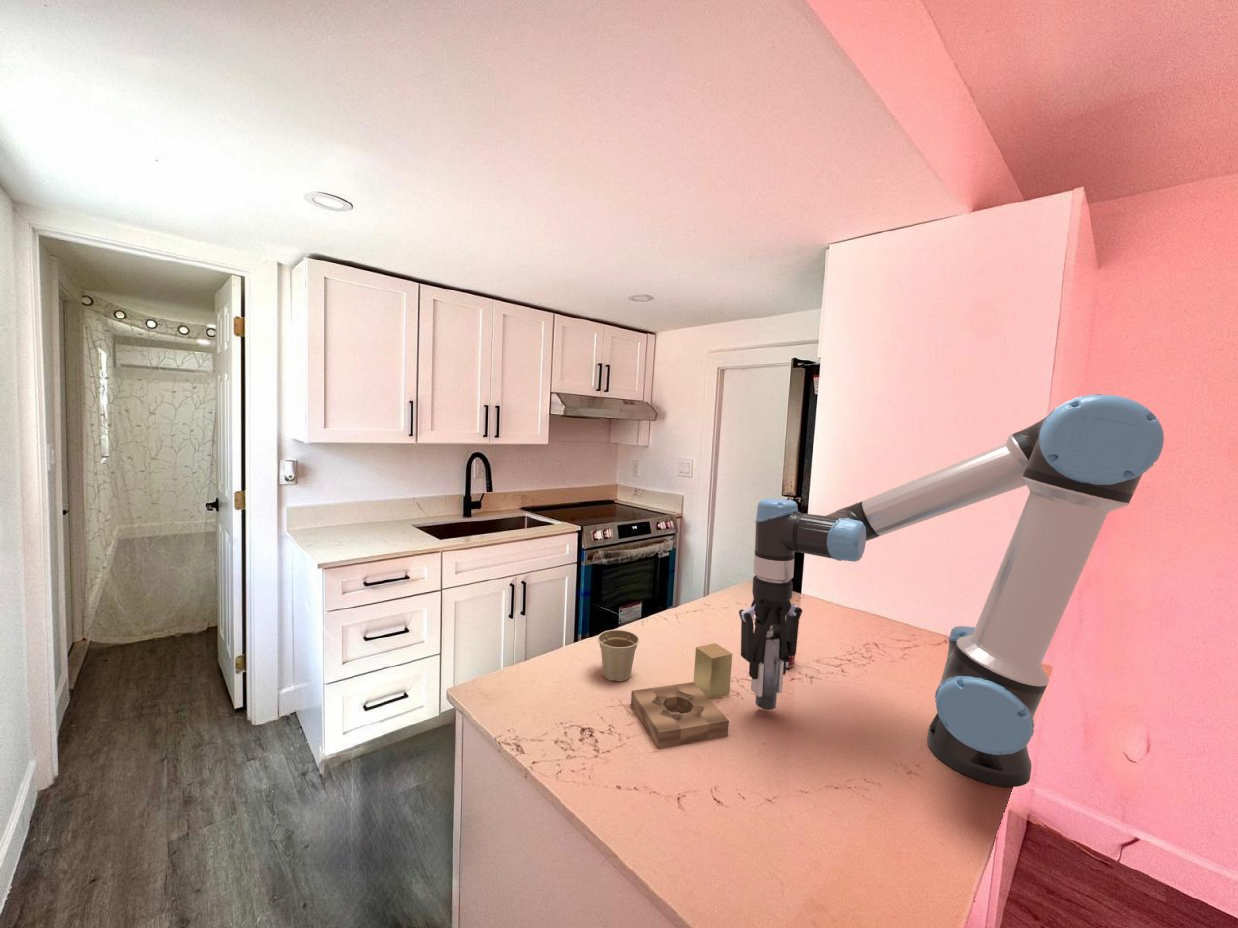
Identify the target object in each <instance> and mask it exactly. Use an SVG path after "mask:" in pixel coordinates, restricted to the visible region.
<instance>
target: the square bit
mask: <svg viewBox="0 0 1238 928" xmlns="http://www.w3.org/2000/svg"><path fill="white" fill-rule="evenodd" d="M694 654H695V656H694V671H693V682H694V683H695V684H696V685H697V686H698V687H699V689H700V690H701V691H702V692H703V693H704V694H705V695H706V696H707V697H708V698H709V699H710V700H712V699H713V700H714V699H716V698H720V697H723V696H727V695H729V694H730V690H731V677H732V665H733V664H732V662H733V653H732V652H730V651H729V650H727V649H726V648H725V647H723V646H721V645H719V644H718V643H716V642H714V643H710V644H706V645H705V644H704V645H701V646H697V647H695V653H694Z"/></svg>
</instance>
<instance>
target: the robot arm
mask: <svg viewBox="0 0 1238 928" xmlns="http://www.w3.org/2000/svg"><path fill="white" fill-rule="evenodd" d="M1164 435H1165V434H1164V429H1163V426H1162V425H1161V422H1160V420H1159V419H1158V418H1157V416H1156V415H1155V414H1154V413H1153V412H1152V411H1151V410H1150V409H1149V408H1148V407H1146V406H1145V405H1143V404H1141V403H1139V402H1138V401H1135V400H1132V399H1130V398H1128V397H1124V396H1119V395H1115V394H1100V393H1097V394H1096V393H1095V394H1087V395H1080V396H1077V397H1074V398H1072V399H1070V400H1067V401H1065V402H1063V403H1062V404H1060V405H1058V406H1057V407H1055V408H1054V409H1053V410H1052V411H1051V412H1050V413H1049V414H1048V415H1047V416H1046V417H1044V418H1042V419H1040V420H1039V421H1038V422H1036V423H1033V424H1032V425H1029V426H1028V427H1026V428H1023V429H1021V430H1020V431H1017V432H1015V433H1012V434H1009V436H1008V438H1007V440H1006V442H1005V443H1003V444H1000V445H998V446H996V447H994V448H991V449H989V450H986V451H984V452H981V453H979V454H975V455H974V456H971V457H968V458H966V459H964V460H961V461H959V462H955V463H954V464H951V465H948V466H946V467H944V468H941V469H938V470H937V471H933V472H931V473H929V474H925V475H923V476H921V477H918V478H916V479H914V480H913V479H912V480H911V481H909V482H907V483H903V484H901V485H898V486H896V487H894V488H892V489H891V488H890V489H889V490H886V491H884V492H882V493H879V494H877V495H873V496H871V497H869V498H866V499H864V500H861V501H860V502H856V503H854V504H851V505H849V506H846V507H843V508H840V509H838V510H836V511H834V512H832V513H829V514H827V515H822V514H821V515H820V514H811V513H805V512H804V513H803V512H800V511H799V509H798V503H797V502H796V501H794V500H789V499H785V498H762V499H761V500H760V501H759V502H758V504H757V509H756V519H755V520H754V523H755V538H754V539H755V542H754V557H753V559H754V560H753V574H754V576H753V577H752V596H753V599H752V602H751V604H750V607H748V608H747V609H742V608H741V609H739V611H738V614H739V615H738V616H739V618H740V621H741V623H740V626H741V627H740V656H741V657H742V658H743V659H744V661H746V662H748V663H749V666H748V667H749V668H748V669H749V670H748V676H749V677H750V678H751V680H750V681H751V684H750V690H751V692H753V693H754V694H755V696H756V695H757V696H758V697H762V690H763V673H764V664H763V663H761V658H762V653H763V649H764V645H765V640H766V636H767V632H768V631H769V630H770V626H771V625H772V626H773V633H774V634H776V635H777V636H779V637H780V648H779V665H778V682H777V694H783V683H784V682H783V680H784V676H785V675H786V672H787V668H786V662H790V660H791V658H789V657H790V656H795V657H796V654H797V647H798V646H797V644H798V643H797V642H798V634H799V624H800V619H801V616H802V613H803V609H802V608H801V607H799V606H798V605H795V604H794V603H791V600H792V597H793V584H794V583H793V581H792V579H793V578H794V573H795V572H794V570H795V553H802V554H806V555H813V556H817V557H822V558H828V559H832V560H836V561H838V562H839V561H841V562H842V561H844V562H846V561H847V562H853V563H854V562H859V561H860V560H861V559H862V558H863V554H864V553H865V549H866V543H867V542H868V541H870V540H875V539H877V538H879V537H882V536H884V535H887V534H890V533H894V532H896V531H899V530H901V529H904V528H907V527H910V526H912V525H916V524H918V523H921V522H925V521H928V520H930V519H933V518H936V517H939V516H942V515H945V514H947V513H950V512H953V511H955V510H959V509H961V508H965V507H968V506H970V505H973V504H976V503H979V502H982V501H984V500H987V499H990V498H993V497H996V496H999V495H1002V494H1005V493H1007V492H1011V491H1014V490H1016V489H1019V488H1023V487H1024V486H1026V487H1027V488H1028V490H1029V494H1028V496H1027V500H1026V502H1025V505H1024V506H1023V509H1022V511H1021V514H1020V517H1019V518H1018V521H1017V524H1016V526H1015V529H1014V532H1013V533H1012V536H1011V539H1010V541H1009V544H1008V546H1007V549H1006V550H1005V553H1004V556H1003V558H1002V561H1001V563H1000V566H999V569H998V571H997V572H996V576H995V579H994V581H993V583H992V586H991V588H990V590H989V593H988V595H987V598H986V601H985V603H984V605H983V608H982V610H981V612H980V616H979V617H978V620H977V623H976V625H975V626H965V625H959V626H954V627H953V628H951V630H950V634H949V637H948V649H947V650H948V651H947V656H946V662H945V665H944V668H943V672H942V676H941V678H940V679H941V680H940V683H939V685H938V686H937V689H936V690H935V695H934V698H935V700H934V701H935V708H936V713H935V716H934V718H933V720H932V721H931V723H930V724H929V725H928V728H927V729H928V730H927V737H926V742H927V746H928V748H929V749H930V751H931V753H933V754H934V755H935V757H936V758H938V760H940V761H942V762H943V763H944V764H945V765H947V766H948V767H950V768H952V769H953V770H955V771H957V772H959V773H961V774H962V775H964V776H967V777H969V778H972V779H974V780H976V781H979V782H983V783H986V784H989V785H993V786H998V787H1004V788H1005V787H1006V788H1007V787H1008V788H1016V787H1022V786H1025V785H1026V784H1028V783H1029V782H1030V780H1031V775H1032V760H1031V759H1030V754H1029V750H1028V746H1027V745H1029V743H1030V741H1031V739H1032V737H1033V735H1034V732H1035V730H1034V728H1035V723H1034V716H1035V714H1036V711H1037V710H1038V707H1039V704H1040V703H1041V700H1042V698H1043V695H1044V693H1045V691H1046V688H1047V686H1048V684H1049V681H1050V678H1049V677H1048V675H1047V673H1046V671H1045V670H1044V668H1043V666H1042V662H1043V660H1044V657H1046V655H1047V654H1046V653H1047V651H1048V649H1049V647H1050V645H1051V642H1052V640H1053V638H1054V636H1055V633H1056V631H1057V628H1058V626H1059V625H1060V622H1061V620H1062V617H1063V615H1064V612H1065V611H1066V609H1067V606H1068V603H1069V602H1070V599H1071V597H1072V595H1073V592H1074V590H1075V589H1076V586H1077V583H1078V581H1079V579H1080V577H1081V575H1082V572H1083V571H1084V568H1085V566H1086V563H1087V561H1088V559H1089V558H1090V557H1089V556H1090V554H1091V552H1092V550H1093V547H1094V545H1095V542H1096V541H1097V538H1098V536H1099V534H1100V531H1102V530H1101V529H1102V527H1103V524H1104V523H1105V520H1106V518H1107V515H1108V514H1109V513H1111V512H1113V511H1115V510H1118V509H1121V508H1124V507H1128V506H1129V505H1130V503H1131V501H1132V498H1133V496H1134V494H1135V492H1136V490H1137V487H1138V485H1139V483H1140V482H1141V481H1140V480H1141V478H1142V476H1143V474H1145V473H1146V472H1147V471H1148V470H1149V469H1150V468H1152V467H1153V466H1154V464H1155V462H1157V461H1158V460H1159V458H1160V456H1161V454H1162V451H1163V448H1164V442H1165V436H1164ZM754 615H755V616H754ZM786 615H787V616H786ZM785 616H786V620H785ZM754 617H755V618H754Z"/></svg>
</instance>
